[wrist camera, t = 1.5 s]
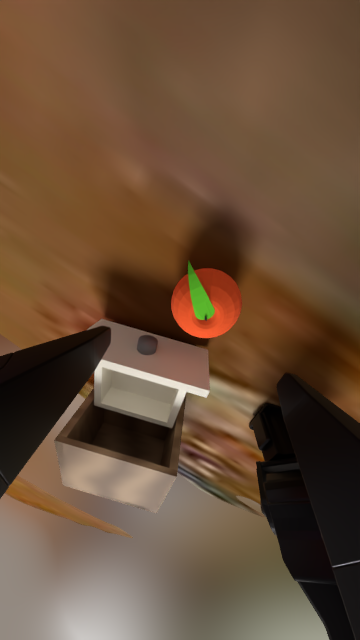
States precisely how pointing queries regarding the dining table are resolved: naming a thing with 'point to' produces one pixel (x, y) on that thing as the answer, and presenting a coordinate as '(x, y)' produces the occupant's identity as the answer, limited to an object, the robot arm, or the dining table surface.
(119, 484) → the small brown cabinet
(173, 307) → the clementine
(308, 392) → the robot arm
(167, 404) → the drawer
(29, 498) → the dining table surface
